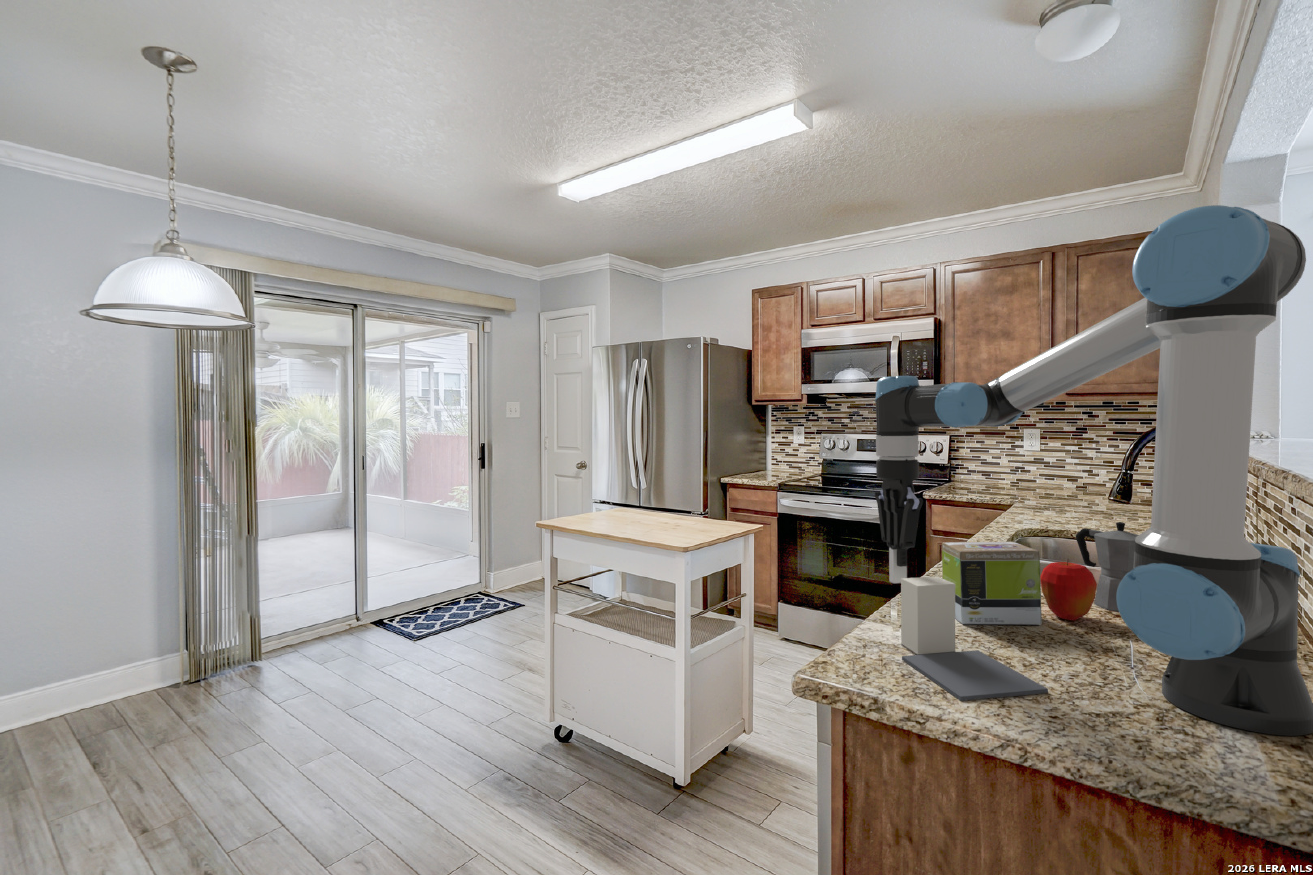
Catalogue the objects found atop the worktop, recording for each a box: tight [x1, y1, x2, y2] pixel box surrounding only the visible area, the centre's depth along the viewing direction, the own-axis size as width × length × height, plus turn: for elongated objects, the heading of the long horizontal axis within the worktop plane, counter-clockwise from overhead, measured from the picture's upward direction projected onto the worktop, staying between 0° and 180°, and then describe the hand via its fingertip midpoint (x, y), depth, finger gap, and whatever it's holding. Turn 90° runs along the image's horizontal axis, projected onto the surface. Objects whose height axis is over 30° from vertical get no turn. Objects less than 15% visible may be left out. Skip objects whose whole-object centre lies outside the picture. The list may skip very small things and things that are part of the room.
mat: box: [901, 649, 1049, 702], centre depth 93 cm, size 15×14×1 cm
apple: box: [1040, 559, 1098, 621], centre depth 119 cm, size 9×9×12 cm
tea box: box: [941, 541, 1043, 626], centre depth 120 cm, size 15×10×15 cm
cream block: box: [900, 575, 956, 655], centre depth 104 cm, size 5×7×12 cm
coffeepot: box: [1075, 521, 1139, 613], centre depth 126 cm, size 15×9×18 cm, turn 25°
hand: (898, 581), depth 113 cm, fingers closed
